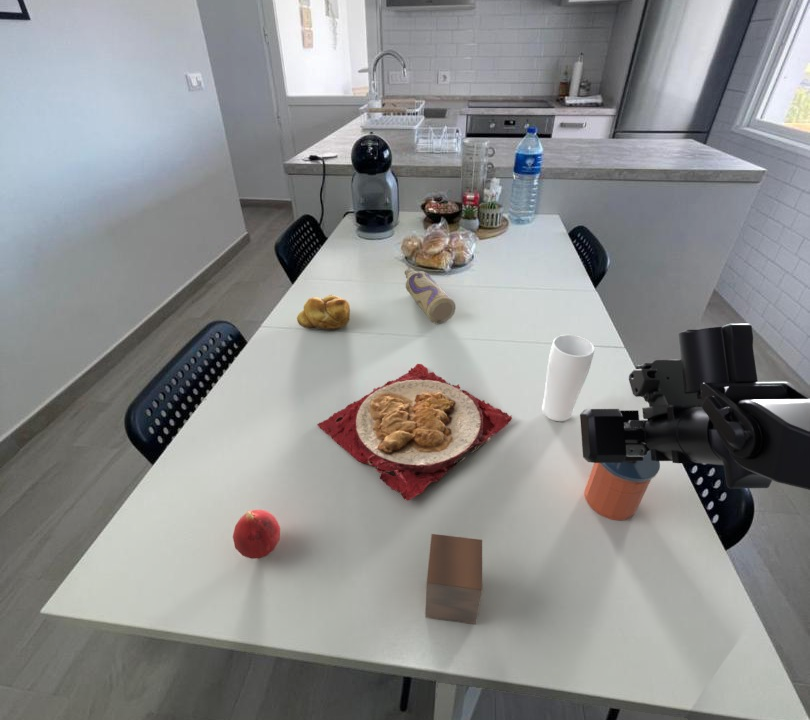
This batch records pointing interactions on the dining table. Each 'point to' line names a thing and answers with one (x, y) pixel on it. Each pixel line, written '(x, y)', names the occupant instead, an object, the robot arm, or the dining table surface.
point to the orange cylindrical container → (613, 494)
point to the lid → (634, 469)
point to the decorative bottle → (429, 296)
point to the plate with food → (414, 429)
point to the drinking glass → (566, 375)
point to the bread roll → (325, 313)
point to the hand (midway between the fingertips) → (629, 435)
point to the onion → (256, 534)
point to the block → (454, 579)
